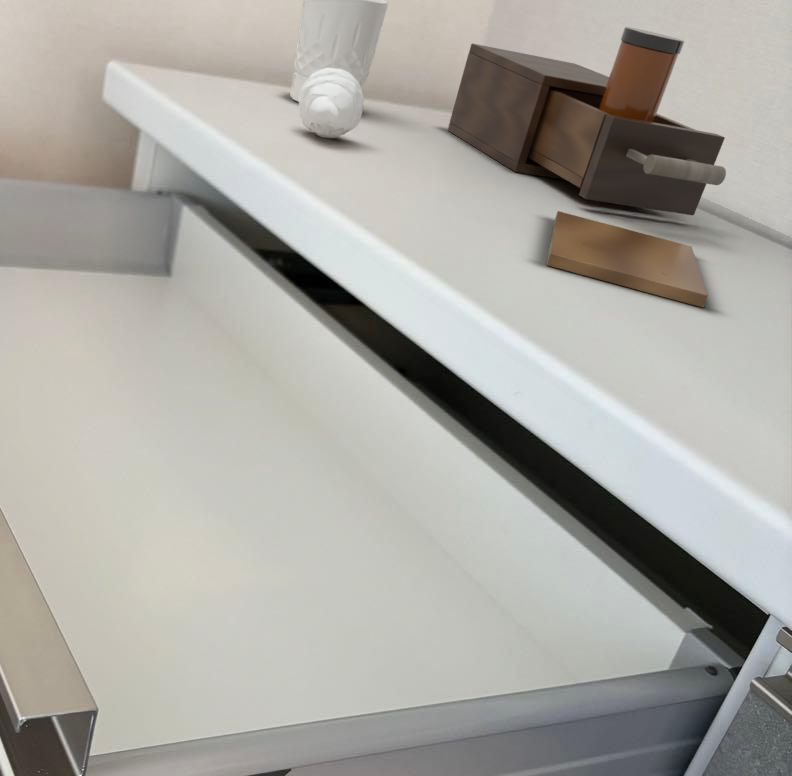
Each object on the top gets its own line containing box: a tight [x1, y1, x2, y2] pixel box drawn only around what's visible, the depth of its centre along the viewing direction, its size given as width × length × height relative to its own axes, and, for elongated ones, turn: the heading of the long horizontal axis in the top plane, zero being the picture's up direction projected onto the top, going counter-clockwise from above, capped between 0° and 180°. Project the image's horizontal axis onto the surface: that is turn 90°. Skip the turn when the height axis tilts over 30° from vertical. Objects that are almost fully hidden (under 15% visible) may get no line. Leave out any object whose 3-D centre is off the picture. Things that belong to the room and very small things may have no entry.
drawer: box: [528, 86, 727, 216], centre depth 91 cm, size 19×10×6 cm, turn 14°
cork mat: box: [546, 210, 709, 308], centre depth 75 cm, size 10×14×1 cm
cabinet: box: [447, 42, 609, 181], centre depth 102 cm, size 16×12×8 cm
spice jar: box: [599, 26, 685, 122], centre depth 91 cm, size 5×5×11 cm
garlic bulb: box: [298, 68, 365, 139], centre depth 90 cm, size 6×6×5 cm
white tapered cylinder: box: [289, 0, 389, 103], centre depth 105 cm, size 8×8×10 cm
